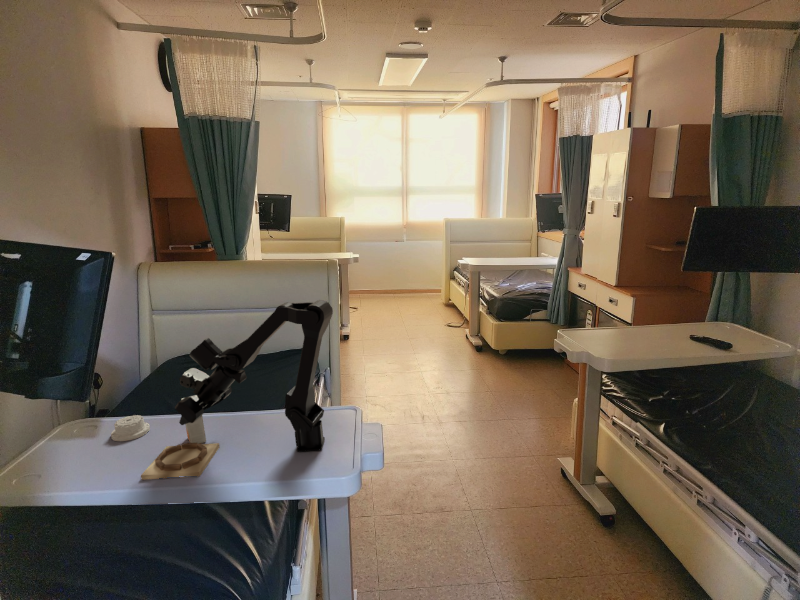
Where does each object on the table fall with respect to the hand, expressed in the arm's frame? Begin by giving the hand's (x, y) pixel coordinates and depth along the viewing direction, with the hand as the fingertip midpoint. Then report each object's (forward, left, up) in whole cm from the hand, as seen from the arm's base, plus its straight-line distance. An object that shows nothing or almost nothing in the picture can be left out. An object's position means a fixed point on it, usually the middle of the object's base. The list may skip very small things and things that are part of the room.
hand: (189, 417), depth 137 cm
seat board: (-2, +12, -7) cm, 14 cm away
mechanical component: (+20, -7, -7) cm, 23 cm away
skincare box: (-1, 0, -7) cm, 7 cm away
